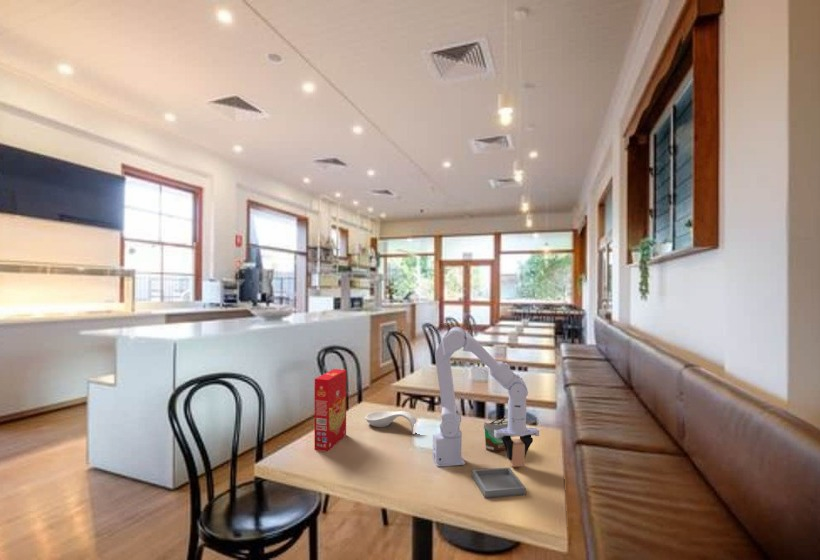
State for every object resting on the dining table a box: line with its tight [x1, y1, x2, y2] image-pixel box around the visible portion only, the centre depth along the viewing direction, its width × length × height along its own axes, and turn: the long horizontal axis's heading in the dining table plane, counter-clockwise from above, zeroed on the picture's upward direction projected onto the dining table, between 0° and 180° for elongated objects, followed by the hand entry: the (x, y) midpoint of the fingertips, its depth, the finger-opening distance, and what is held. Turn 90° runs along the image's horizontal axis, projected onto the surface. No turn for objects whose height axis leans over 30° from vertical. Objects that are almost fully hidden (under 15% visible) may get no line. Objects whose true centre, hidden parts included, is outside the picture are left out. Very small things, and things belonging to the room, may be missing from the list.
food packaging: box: [314, 368, 347, 452], centre depth 148 cm, size 15×5×25 cm, turn 164°
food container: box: [483, 415, 508, 453], centre depth 143 cm, size 12×6×10 cm, turn 129°
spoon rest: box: [364, 410, 418, 435], centre depth 163 cm, size 24×12×7 cm, turn 60°
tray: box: [471, 466, 527, 499], centre depth 119 cm, size 12×12×2 cm
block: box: [507, 438, 526, 468], centre depth 130 cm, size 4×4×7 cm
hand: (516, 458), depth 130 cm, fingers closed on block, 4 cm apart
